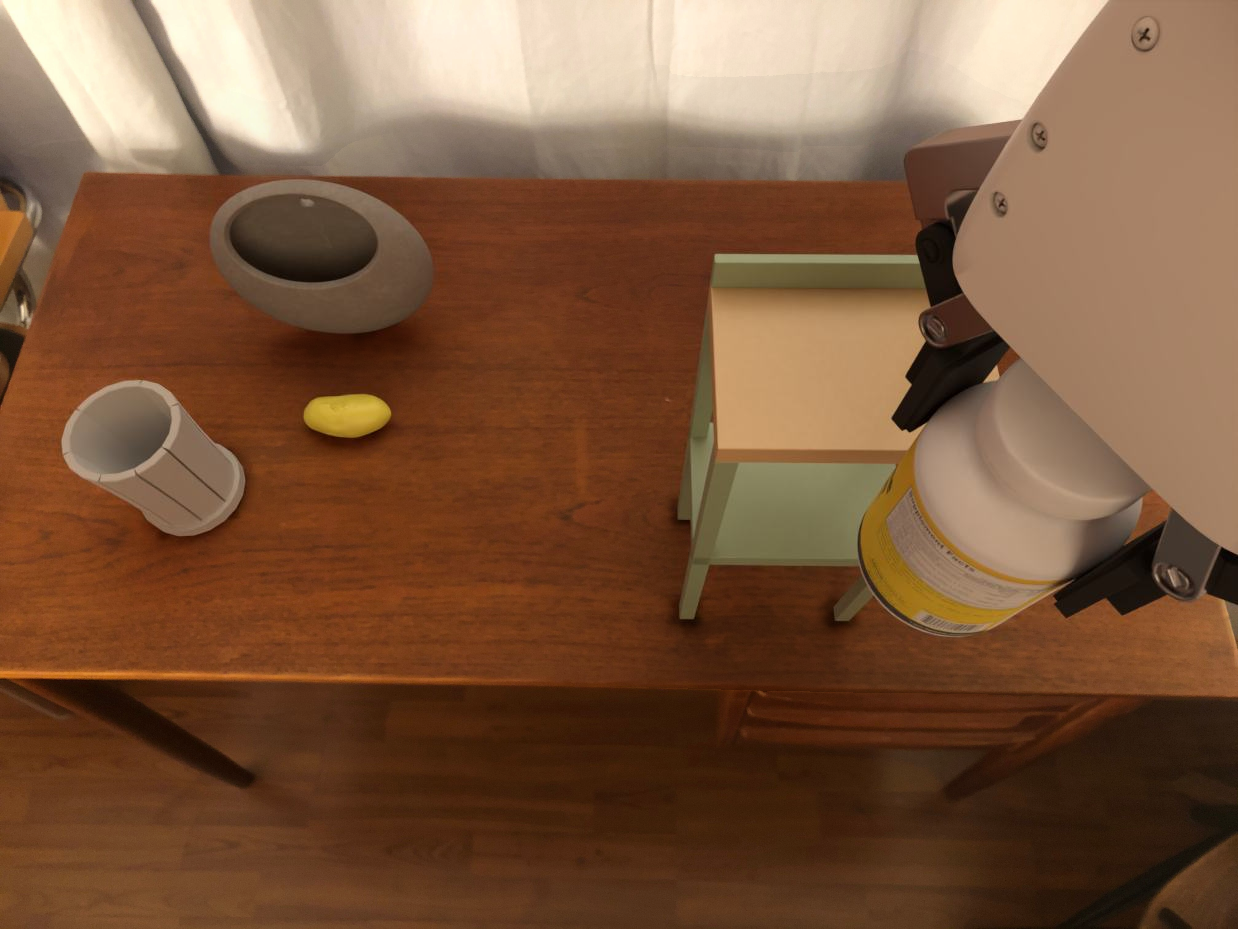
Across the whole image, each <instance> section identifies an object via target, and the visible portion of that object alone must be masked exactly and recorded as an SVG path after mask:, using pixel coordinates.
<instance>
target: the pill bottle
mask: <svg viewBox="0 0 1238 929" xmlns="http://www.w3.org/2000/svg"><path fill="white" fill-rule="evenodd" d="M1151 491H1154V490H1153V489H1152V488H1151V487H1150V486H1149V485H1148V484H1147V483H1146V482H1145V481H1144V480H1143V479H1142V478H1141V477H1140V476H1139V475H1138V474H1137V473H1135V472H1134V471H1133V470H1132V469H1131V468H1130V467H1129V466H1128V465H1127V464H1126V463H1125V462H1124V461H1123V460H1122V459H1121V458H1120V457H1119V456H1118V455H1117V454H1116V453H1115V452H1114V451H1113V450H1112V449H1111V448H1110V447H1109V446H1108V445H1107V444H1106V443H1105V442H1104V441H1103V440H1102V439H1101V438H1100V437H1099V436H1098V435H1097V434H1096V433H1095V432H1094V431H1093V430H1092V429H1091V428H1090V427H1089V426H1088V425H1087V424H1086V423H1085V422H1084V421H1083V420H1082V419H1081V418H1080V417H1079V416H1078V415H1077V414H1076V413H1075V412H1074V411H1073V410H1072V409H1071V408H1070V407H1069V406H1068V405H1067V404H1066V403H1065V402H1064V401H1063V400H1062V399H1061V398H1060V397H1059V396H1058V395H1057V394H1056V393H1055V392H1054V391H1053V390H1052V389H1051V388H1050V387H1049V386H1048V385H1047V384H1046V383H1045V382H1044V381H1043V380H1042V379H1041V378H1040V377H1039V376H1038V375H1037V374H1036V373H1035V372H1034V371H1033V370H1032V369H1031V367H1030V366H1029V365H1028V364H1027V363H1026V362H1025V361H1024V360H1023V359H1022V358H1021V357H1020V358H1018V359H1017V360H1015V361H1014V362H1013V363H1012V364H1011V365H1010V366H1009V367H1008V368H1006V369H1005V371H1004V372H1003V373H1002V374H1001V376H1000V378H999V379H998V380H994V381H989V382H985V383H981V384H978V385H975V386H973V387H970V388H968V389H966V390H964V391H962V392H960V393H958V394H956V395H955V396H953V397H952V398H950V399H949V400H948V401H946V402H945V403H944V404H943V405H942V406H941V407H940V408H939V409H938V410H937V411H936V412H935V413H934V414H933V416H932V417H931V418H930V420H929V421H928V422H927V424H926V425H925V426H924V428H923V429H922V431H921V432H920V433H919V435H918V436H917V438H916V439H915V441H914V442H913V443H912V445H911V446H910V448H909V449H908V451H907V452H906V454H905V455H904V457H903V458H902V460H901V461H900V462H899V464H896V468H895V469H894V471H893V472H892V474H891V475H890V476H889V478H888V479H887V481H886V482H885V484H884V485H883V486H882V488H881V489H880V491H879V492H878V494H877V495H876V497H875V498H874V500H873V501H872V502H871V504H870V505H869V507H868V509H867V510H866V512H865V514H864V516H863V518H862V521H861V523H860V527H859V531H858V536H857V556H858V562H859V566H858V567H859V569H860V573H861V575H863V577H864V580H865V582H866V584H867V586H868V588H869V589H870V591H871V592H872V594H873V595H874V596H873V597H874V598H875V599H876V600H877V601H878V603H879V604H880V605H881V606H882V607H883V608H884V609H885V610H886V611H887V612H889V613H890V614H891V615H892V616H893V617H895V618H896V619H897V620H899V621H901V622H902V623H904V624H905V625H907V626H909V627H911V628H914V629H916V630H918V631H920V632H923V633H927V634H931V635H934V636H938V637H939V636H941V637H948V638H961V637H963V638H964V637H969V636H975V635H979V634H982V633H985V632H987V631H989V630H992V629H994V628H995V627H997V626H999V625H1001V624H1003V623H1004V622H1006V621H1007V620H1009V619H1010V618H1013V617H1014V616H1015V615H1017V614H1018V613H1020V612H1022V611H1023V610H1025V609H1027V608H1028V607H1030V606H1033V604H1035V603H1037V602H1040V601H1041V600H1043V599H1044V598H1046V597H1048V596H1049V595H1051V594H1053V593H1054V592H1056V591H1059V590H1061V589H1062V588H1064V587H1065V586H1067V585H1068V584H1070V583H1071V582H1072V581H1074V580H1075V579H1077V578H1078V577H1080V576H1082V575H1084V574H1085V573H1087V572H1089V571H1091V570H1092V569H1094V568H1095V567H1097V566H1098V565H1100V564H1101V563H1103V562H1104V561H1106V560H1107V559H1109V558H1110V557H1112V556H1113V555H1114V554H1116V553H1117V552H1118V551H1119V550H1120V549H1121V548H1122V547H1123V546H1124V545H1126V544H1127V543H1128V541H1129V539H1130V538H1131V536H1132V534H1133V533H1134V531H1135V529H1136V527H1137V524H1138V522H1139V519H1140V516H1141V513H1142V508H1143V501H1144V500H1143V498H1144V497H1145V496H1146V495H1147V494H1149V493H1150V492H1151Z"/></svg>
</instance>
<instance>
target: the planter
mask: <svg viewBox="0 0 1238 929" xmlns="http://www.w3.org/2000/svg"><path fill="white" fill-rule="evenodd" d="M305 198H307V199H305ZM209 248H210V253H211V256H212V259H213V262H214V264H215V266H216V268H217V270H218V271H219V273H220V275H221V276H222V277H223V279H224V280H225V282H226V283H227V284H228V285H229V287H231V288H232V289H233V291H235V293H236V294H238V295H239V296H240V297H241V298H242V299H243V300H245V301H246V302H247V303H249V304H250V305H251V306H253V307H254V308H256V309H257V310H259V311H260V312H262V313H264V314H265V315H267V316H269V317H271V318H273V319H275V320H277V321H280V322H282V323H284V324H287V325H291V326H293V327H298V328H301V329H303V330H309V331H314V332H320V333H328V334H360V333H361V334H362V333H369V332H375V331H378V330H383V329H386V328H389V327H392V326H394V325H396V324H398V323H401V322H403V321H404V320H406V319H408V318H410V317H411V316H412V315H413V314H415V313H416V312H417V311H418V310H419V309H420V308H421V307H422V306H423V305H424V303H425V302H426V301H427V300H428V298H429V296H430V294H431V291H432V289H433V285H434V278H435V267H434V262H433V258H432V255H431V252H430V250H429V247H428V245H427V244H426V242H425V240H424V239H423V237H422V236H421V234H420V233H419V231H417V229H416V228H415V226H413V224H411V223H410V221H409V220H408V219H407V218H405V216H403V215H402V214H401V213H400V212H398V211H397V210H396V209H394V208H393V207H391V206H390V205H389V204H387V203H385V202H383V201H382V200H380V199H378V198H376V197H375V196H374V195H373V196H372V195H370V194H368V193H366V192H364V191H361V190H358V189H355V188H354V187H350V186H347V185H342V184H340V183H336V182H330V181H326V180H325V181H324V180H319V179H318V180H317V179H308V178H307V179H306V178H303V179H302V178H294V179H293V178H291V179H279V180H273V181H268V182H263V183H260V184H256V185H252V186H250V187H248V188H245V189H243V190H241V191H239V192H237V193H235V194H234V195H233V196H231V197H230V198H228V199H227V200H226V201H224V203H223V204H221V205H220V207H219V208H218V209H217V211H216V212H215V215H214V216H213V219H212V221H211V224H210V228H209Z"/></svg>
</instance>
